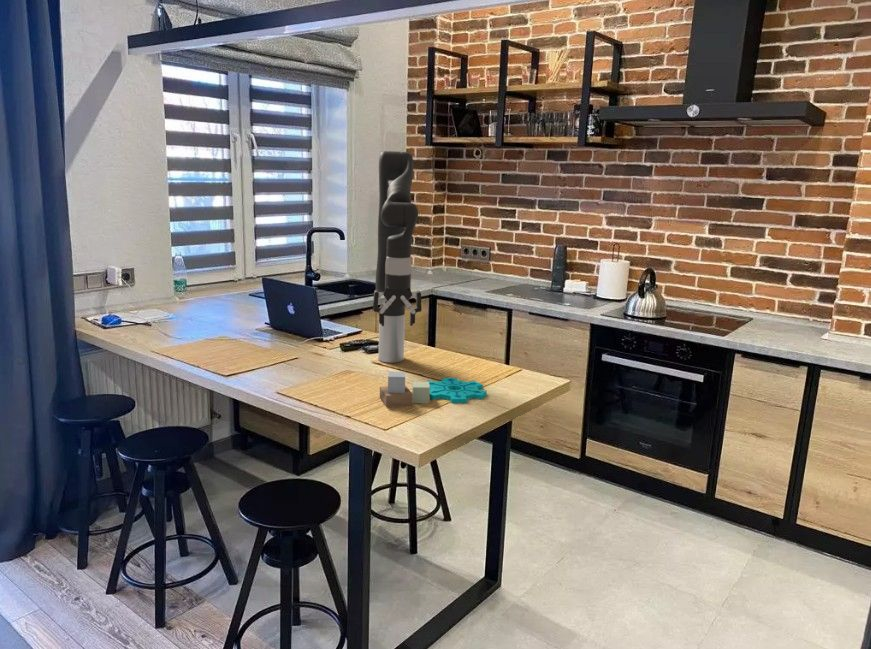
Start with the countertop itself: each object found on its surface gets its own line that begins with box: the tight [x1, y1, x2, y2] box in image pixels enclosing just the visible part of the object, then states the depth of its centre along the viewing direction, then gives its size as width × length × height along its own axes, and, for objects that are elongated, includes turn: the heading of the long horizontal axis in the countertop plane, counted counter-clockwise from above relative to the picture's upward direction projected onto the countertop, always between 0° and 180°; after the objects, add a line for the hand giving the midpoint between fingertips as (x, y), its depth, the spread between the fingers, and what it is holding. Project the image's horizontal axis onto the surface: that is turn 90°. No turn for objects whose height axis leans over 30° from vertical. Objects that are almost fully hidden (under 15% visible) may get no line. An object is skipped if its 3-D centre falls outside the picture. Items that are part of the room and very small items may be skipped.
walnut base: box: [379, 384, 413, 408], centre depth 196 cm, size 8×8×4 cm
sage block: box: [411, 381, 431, 404], centre depth 199 cm, size 5×5×5 cm
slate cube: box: [387, 370, 406, 393], centre depth 195 cm, size 5×5×5 cm
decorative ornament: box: [426, 377, 488, 404], centre depth 207 cm, size 20×2×20 cm
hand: (396, 325), depth 195 cm, fingers open, 8 cm apart
